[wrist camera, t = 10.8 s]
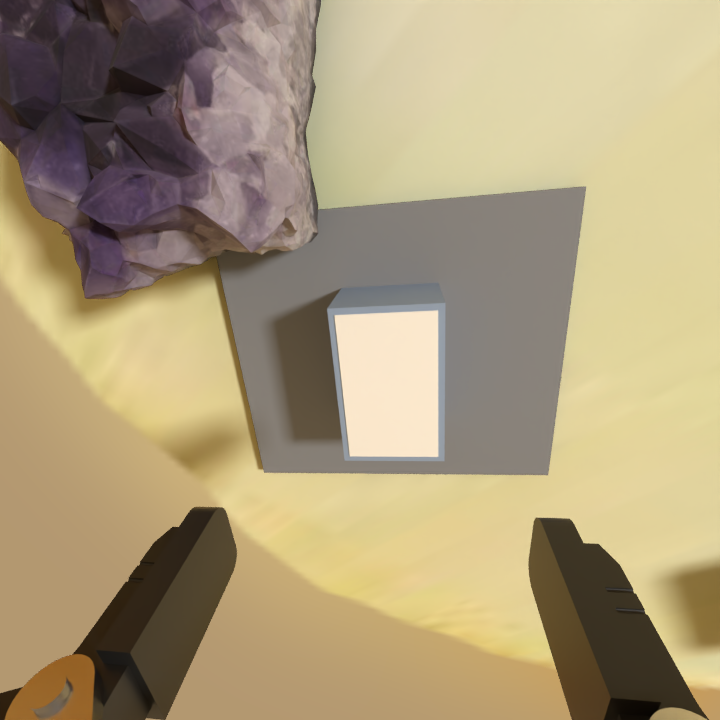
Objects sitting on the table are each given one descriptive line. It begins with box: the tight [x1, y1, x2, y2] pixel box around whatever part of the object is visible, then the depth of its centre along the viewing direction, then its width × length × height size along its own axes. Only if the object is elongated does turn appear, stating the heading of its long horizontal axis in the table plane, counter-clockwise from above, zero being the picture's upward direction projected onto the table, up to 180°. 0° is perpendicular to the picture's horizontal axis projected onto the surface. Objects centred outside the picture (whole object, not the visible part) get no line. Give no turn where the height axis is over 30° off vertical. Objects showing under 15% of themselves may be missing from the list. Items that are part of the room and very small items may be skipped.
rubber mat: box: [216, 187, 586, 475], centre depth 22 cm, size 16×18×1 cm
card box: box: [327, 283, 445, 461], centre depth 20 cm, size 5×8×4 cm, turn 5°
